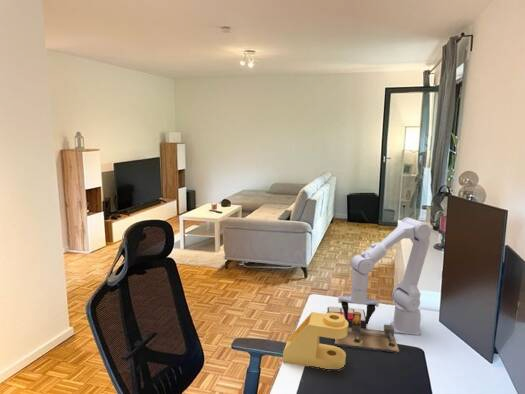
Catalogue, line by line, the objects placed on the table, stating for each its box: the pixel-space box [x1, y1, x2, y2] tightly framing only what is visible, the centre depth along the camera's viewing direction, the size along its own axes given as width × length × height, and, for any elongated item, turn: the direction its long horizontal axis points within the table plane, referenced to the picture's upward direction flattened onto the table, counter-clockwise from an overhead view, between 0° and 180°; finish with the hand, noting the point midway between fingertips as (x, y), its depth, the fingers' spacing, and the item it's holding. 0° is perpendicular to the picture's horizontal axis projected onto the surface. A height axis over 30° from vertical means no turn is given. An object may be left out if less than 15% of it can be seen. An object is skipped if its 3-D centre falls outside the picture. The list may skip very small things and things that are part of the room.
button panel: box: [326, 306, 367, 329], centre depth 153 cm, size 11×4×15 cm
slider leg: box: [351, 312, 361, 341], centre depth 139 cm, size 3×9×7 cm, turn 171°
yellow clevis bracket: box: [282, 311, 348, 370], centre depth 125 cm, size 20×9×16 cm, turn 76°
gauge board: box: [334, 323, 400, 353], centre depth 139 cm, size 22×13×5 cm, turn 81°
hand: (356, 321), depth 142 cm, fingers open, 7 cm apart
